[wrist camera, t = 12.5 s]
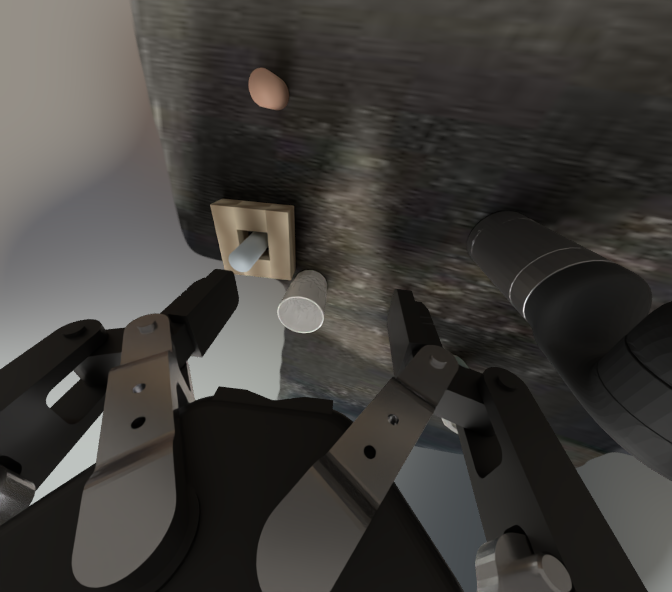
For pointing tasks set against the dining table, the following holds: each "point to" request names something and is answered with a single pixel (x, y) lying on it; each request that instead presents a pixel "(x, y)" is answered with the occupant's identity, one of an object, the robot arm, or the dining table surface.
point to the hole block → (259, 217)
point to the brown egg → (268, 89)
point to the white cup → (304, 302)
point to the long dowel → (249, 251)
